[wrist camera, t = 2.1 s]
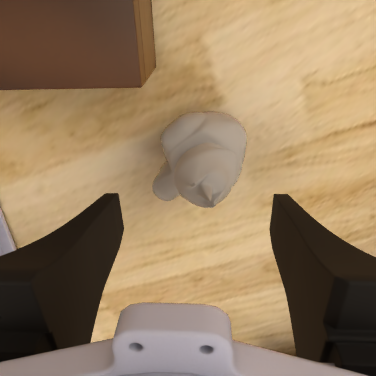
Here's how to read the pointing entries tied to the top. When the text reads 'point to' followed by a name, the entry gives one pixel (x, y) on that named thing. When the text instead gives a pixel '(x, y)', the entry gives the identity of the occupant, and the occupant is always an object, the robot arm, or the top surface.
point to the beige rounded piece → (201, 158)
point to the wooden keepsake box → (75, 44)
